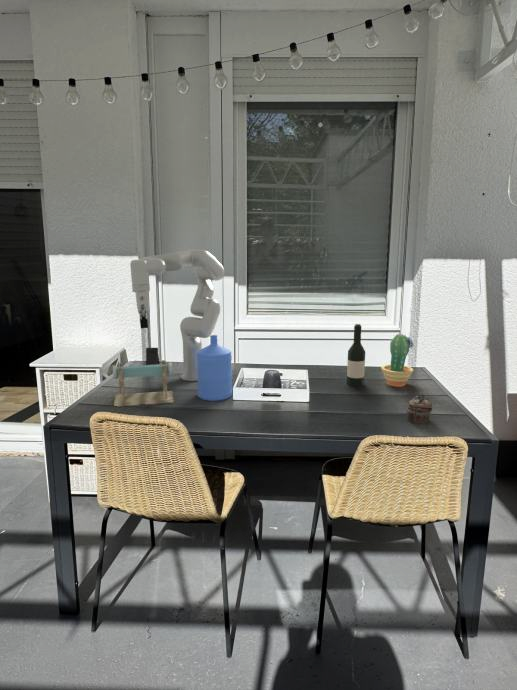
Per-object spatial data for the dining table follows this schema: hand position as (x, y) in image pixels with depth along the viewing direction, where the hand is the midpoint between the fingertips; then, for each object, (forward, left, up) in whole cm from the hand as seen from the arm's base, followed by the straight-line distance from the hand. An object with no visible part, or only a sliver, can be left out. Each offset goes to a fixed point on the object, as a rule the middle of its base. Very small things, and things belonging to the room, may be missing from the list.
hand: (144, 325), depth 221 cm
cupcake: (-105, +58, -32) cm, 124 cm away
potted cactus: (-120, +12, -32) cm, 125 cm away
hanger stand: (+1, +10, -32) cm, 33 cm away
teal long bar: (+1, +10, -21) cm, 24 cm away
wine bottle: (-100, +8, -32) cm, 105 cm away
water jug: (-30, +11, -32) cm, 45 cm away
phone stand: (-3, -42, -32) cm, 53 cm away
